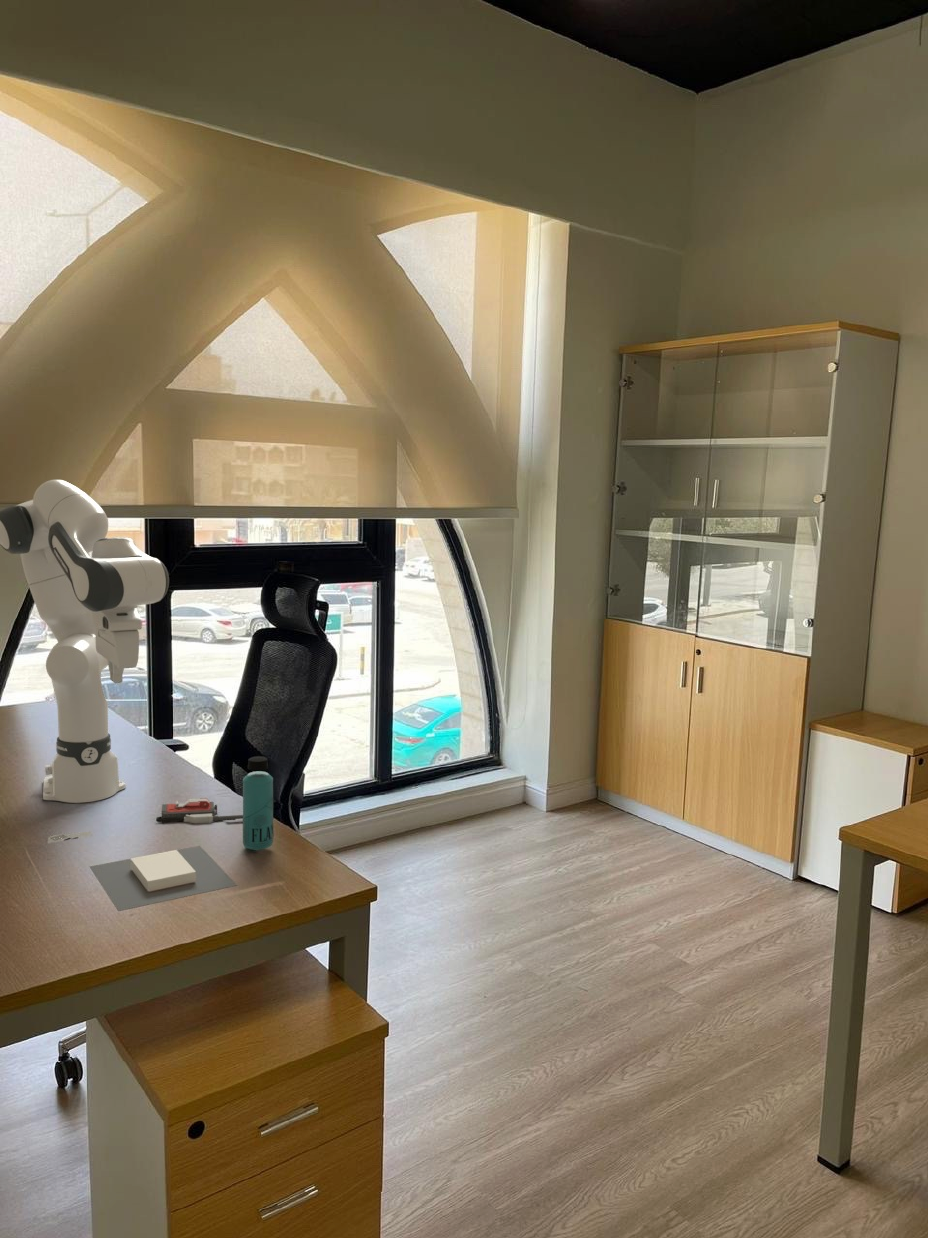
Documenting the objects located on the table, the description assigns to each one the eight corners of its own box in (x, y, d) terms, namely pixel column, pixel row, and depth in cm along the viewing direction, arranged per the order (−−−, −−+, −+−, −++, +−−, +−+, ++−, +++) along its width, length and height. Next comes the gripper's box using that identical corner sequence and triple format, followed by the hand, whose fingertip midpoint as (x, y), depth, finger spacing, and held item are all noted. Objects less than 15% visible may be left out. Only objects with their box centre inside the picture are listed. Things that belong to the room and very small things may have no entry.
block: (130, 858, 189) (147, 881, 179) (176, 850, 194) (195, 871, 184) (130, 869, 190) (148, 893, 180) (176, 860, 194) (195, 883, 185)
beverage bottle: (248, 859, 198) (248, 764, 195) (237, 847, 203) (237, 755, 200) (278, 853, 201) (279, 760, 198) (267, 842, 207) (267, 751, 204)
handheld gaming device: (92, 830, 209) (92, 857, 195) (92, 833, 209) (92, 860, 195) (48, 834, 206) (45, 862, 192) (48, 837, 206) (45, 865, 192)
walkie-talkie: (155, 829, 213) (248, 824, 218) (155, 810, 212) (248, 805, 217) (157, 815, 221) (247, 810, 226) (157, 797, 220) (247, 792, 225)
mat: (89, 868, 190) (89, 866, 190) (199, 848, 202) (199, 845, 202) (118, 913, 172) (118, 911, 172) (237, 887, 184) (237, 885, 184)
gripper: (87, 609, 205) (88, 673, 207) (111, 624, 189) (112, 693, 191) (117, 608, 209) (118, 670, 211) (144, 622, 192) (145, 690, 194)
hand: (116, 681), depth 201 cm, fingers closed
